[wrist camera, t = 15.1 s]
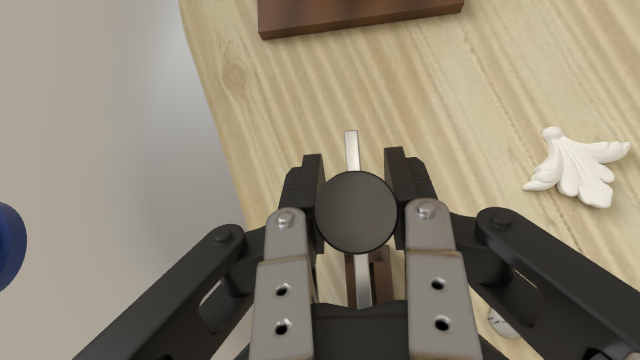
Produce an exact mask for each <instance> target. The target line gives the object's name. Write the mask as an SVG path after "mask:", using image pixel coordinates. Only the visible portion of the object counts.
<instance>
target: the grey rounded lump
mask: <svg viewBox="0 0 640 360" xmlns="http://www.w3.org/2000/svg"><path fill="white" fill-rule="evenodd" d="M488 320H490V322H491V325H492V327H493V328H494V329H495V330H496V331H497V332H498V333H499V334H501V335H502V336H504V337H505V338H508V339H517V338H520V337H521V336H520V335H519V334H518V333H517V332H516V331H515V330H514V329H513V328H512V327H511V326H510V325H509V324H508V323H507V322H506V321H505V320H504V319H503V318H502V317H501V316H500V315H499V314H498V313H497V312H496V311H495V310H494V309H493V308H492V309H491V311H490V318H489V319H488Z"/></svg>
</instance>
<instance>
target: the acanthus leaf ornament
mask: <svg viewBox="0 0 640 360" xmlns="http://www.w3.org/2000/svg"><path fill="white" fill-rule="evenodd" d="M542 138H543V139H544V140H545V141H546V142H547V144H548V156H547V158H546V160H545V161H544V162H543V163H541V164H540V165H538V166H537V167H536V168H535V169H534V175H533V176H532V177H531V179H530V180H531V181H530V182H528V183H526V184H525V185H524V186H523V187H522V189H523V190H524V191H527V190H534V191H543V190H546V189H548V188H550V187H552V186H554V185H555V184H557V189H558V191H559V192H560V193H562V194H564V195H566V196H571V197H572V196H577V197H578V198H579V199H580V200H581V201H582V202H583V203H585V204H587V205H591V206H594V207H597V208H608V207H609V206H610V205H611V202H612V196H613V194H614V192H613V190H612V188H611V187H610V186H608V185H607V184H605V183H610V182H613V181H614V180H615V175H614V174H613V172H612V171H611V170H610V169H608V168H607V167H605V166H604V165H602V164H605V163H610V162H614V161H617V160H620V159H621V158H623V157H624V156H625V155H626V154H627V153H628V151H629V149H630V147H631V144H632V143H631V142H624V143H620V142H619V141H615V142H612V143H608V142H605V141H602V142H598V143H594V144H584V143H579V142H575V141H573V140H570V139H568V138H567V137H566V136H565V135H564V133H563V131H562V130H561V129H560V128H558V127H548V128H546V129H544V130H543V131H542Z"/></svg>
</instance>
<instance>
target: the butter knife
mask: <svg viewBox="0 0 640 360" xmlns="http://www.w3.org/2000/svg"><path fill="white" fill-rule="evenodd" d="M345 146H346V159H347V171H346V172H343V173H340V174H338V175H336V176H334V177H332V178H331V179H330V180H328V181H327V182H326V183H325V184H324V186H323V187H322V188H321V190H320V191H319V193H318V195H317V198H316V201H315V205H314V220H315V224H316V227H317V229H318V231H319V233H320V235H321V236H322V238H323V239H324V240H325V241H326V242H327V243H328V244H329V245H330V246H331V247H333V248H334V249H336V250H338V251H340V252H343V253H346V254H352V255H354V268H355V281H356V295H357V308H358V309H364V308H368V307H371V306H372V297H371V285H370V272H369V260H368V253H371V252H373V251H375V250H377V249H379V248H380V247H382V246H383V245H384V244H385V243H386V242H387V241H388V240H389V239H390V238H391V236H392V235H393V233H394V231H395V229H396V226H397V223H398V216H399V209H398V203H397V200H396V197H395V195H394V193H393V191H392V189H391V188H390V187H389V185H388V184H387V183H386V182H385V181H384V180H382V179H381V178H380V177H378V176H376V175H374V174H372V173H369V172H365V171H361V162H360V150H359V138H358V130H351V131H345Z"/></svg>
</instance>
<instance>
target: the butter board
mask: <svg viewBox="0 0 640 360" xmlns="http://www.w3.org/2000/svg"><path fill="white" fill-rule="evenodd" d="M257 4H258V33H259V35H260V37H261V38H262V40H267V39H274V38H281V37H288V36H295V35H302V34H309V33H316V32H323V31H331V30H338V29H345V28H352V27H359V26H366V25H373V24H380V23H387V22H394V21H401V20H409V19H416V18H423V17H430V16H437V15H444V14H451V13H458V12H461V9H462V7H463V4H464V0H257Z"/></svg>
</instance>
